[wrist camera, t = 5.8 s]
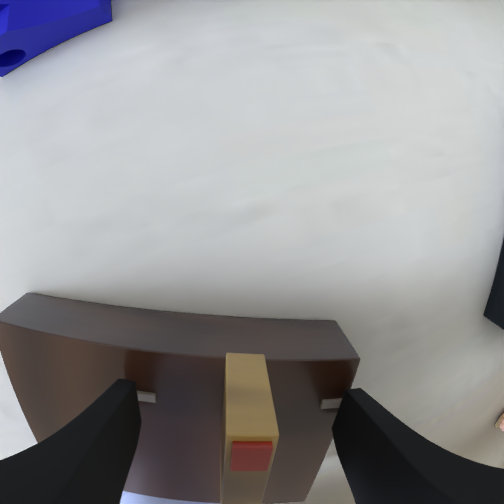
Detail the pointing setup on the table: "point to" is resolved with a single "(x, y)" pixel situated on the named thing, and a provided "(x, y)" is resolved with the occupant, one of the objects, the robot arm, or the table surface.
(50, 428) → the brown flat block
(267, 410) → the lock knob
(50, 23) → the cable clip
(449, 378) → the table surface
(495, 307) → the button box
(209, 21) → the table surface
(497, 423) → the grandmother figurine
